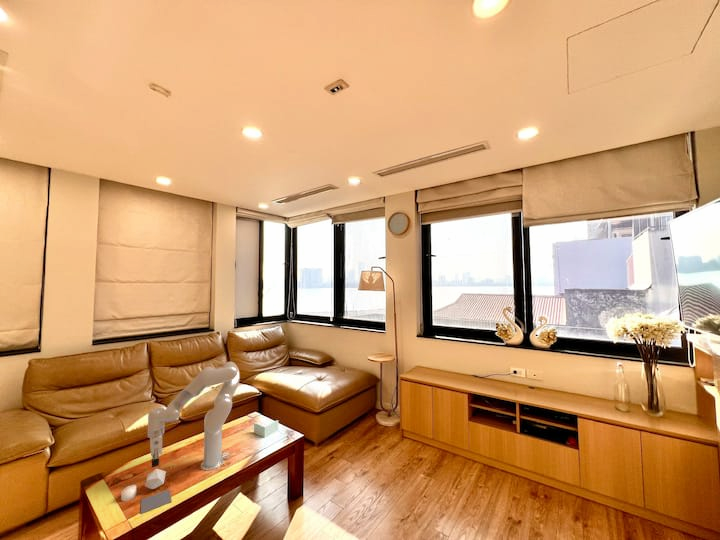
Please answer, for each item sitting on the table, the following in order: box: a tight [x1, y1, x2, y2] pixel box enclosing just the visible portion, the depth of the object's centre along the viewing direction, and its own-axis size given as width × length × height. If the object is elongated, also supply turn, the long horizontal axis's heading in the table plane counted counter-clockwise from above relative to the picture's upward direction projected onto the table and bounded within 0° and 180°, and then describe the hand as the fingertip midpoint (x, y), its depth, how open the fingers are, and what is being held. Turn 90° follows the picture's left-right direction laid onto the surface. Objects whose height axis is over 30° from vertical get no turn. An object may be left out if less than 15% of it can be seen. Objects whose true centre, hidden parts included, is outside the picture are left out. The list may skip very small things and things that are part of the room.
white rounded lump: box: [120, 484, 137, 502], centre depth 144 cm, size 6×6×4 cm
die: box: [144, 468, 167, 490], centre depth 150 cm, size 8×9×10 cm
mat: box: [140, 488, 172, 515], centre depth 141 cm, size 12×11×1 cm
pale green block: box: [253, 420, 279, 439], centre depth 206 cm, size 12×12×8 cm
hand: (155, 465), depth 157 cm, fingers closed
